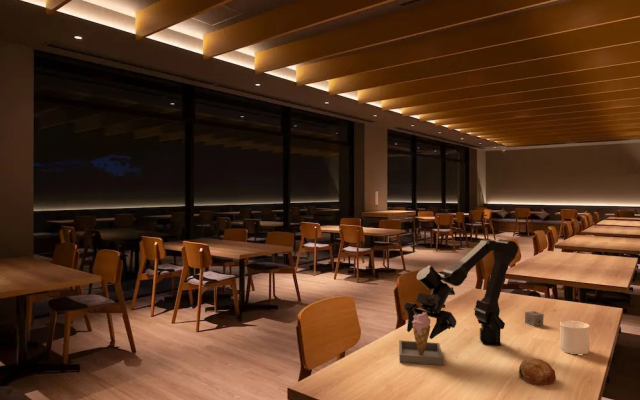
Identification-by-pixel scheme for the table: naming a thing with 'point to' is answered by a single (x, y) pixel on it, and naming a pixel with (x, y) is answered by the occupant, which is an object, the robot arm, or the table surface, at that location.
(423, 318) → the ice cream cone
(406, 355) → the tray
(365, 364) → the table surface
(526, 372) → the bread roll
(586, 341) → the cup
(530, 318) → the dice cube
